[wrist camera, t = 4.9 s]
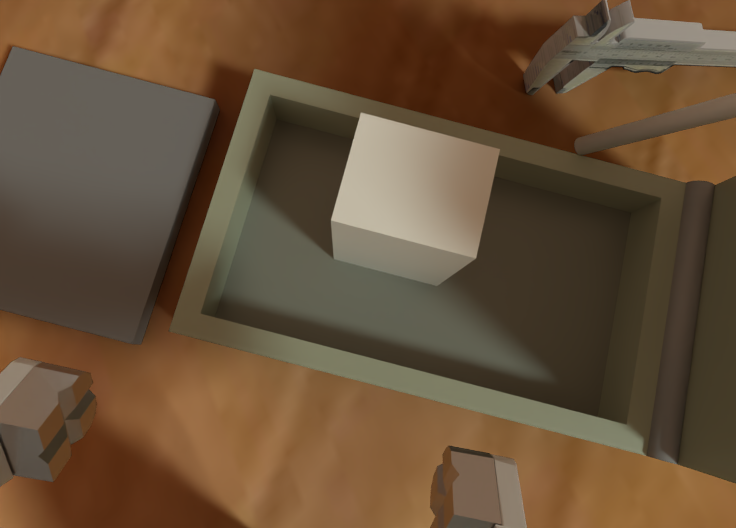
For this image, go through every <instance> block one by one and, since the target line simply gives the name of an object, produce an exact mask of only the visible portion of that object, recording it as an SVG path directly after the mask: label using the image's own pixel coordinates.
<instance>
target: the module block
mask: <svg viewBox="0 0 736 528" xmlns="http://www.w3.org/2000/svg"><path fill="white" fill-rule="evenodd" d="M499 152H500V149H497V148H494V147H490V146H486V145H482V144H478V143H475V142H471V141H467V140H463V139H459V138H456V137H452V136H448V135H444V134H441V133H437V132H433V131H429V130H425V129H422V128H418V127H414V126H410V125H406V124H403V123H399V122H395V121H391V120H388V119H384V118H380V117H376V116H372V115H369V114H365V113H361V114H360V118H359V121H358V125H357V129H356V132H355V136H354V139H353V143H352V146H351V150H350V154H349V157H348V161H347V164H346V168H345V172H344V175H343V179H342V182H341V186H340V189H339V193H338V197H337V200H336V204H335V207H334V211H333V215H332V218H331V229H332V243H333V256H334V259H335V260H339V261H343V262H347V263H351V264H355V265H358V266H362V267H366V268H370V269H374V270H377V271H381V272H385V273H389V274H393V275H397V276H400V277H404V278H408V279H412V280H416V281H419V282H423V283H427V284H431V285H435V286H438V285H439V284H441V283H442V282H443V281H445V280H446V279H448V278H449V277H450V276H452V275H453V274H455V273H456V272H458V271H459V270H460V269H462V268H463V267H465V266H466V265H467V264H469V263H470V262H472V261H473V260H475V259H476V256H477V252H478V247H479V243H480V238H481V234H482V229H483V225H484V220H485V215H486V211H487V206H488V202H489V197H490V193H491V188H492V184H493V179H494V175H495V170H496V166H497V161H498V156H499Z"/></svg>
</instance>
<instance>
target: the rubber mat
mask: <svg viewBox="0 0 736 528" xmlns="http://www.w3.org/2000/svg"><path fill="white" fill-rule="evenodd" d="M219 111H220V108H219V106H218V104H217V102H216V100H215V99H211V98H208V97H204V96H200V95H196V94H192V93H189V92H185V91H181V90H177V89H173V88H170V87H166V86H162V85H158V84H154V83H151V82H147V81H143V80H139V79H136V78H132V77H128V76H124V75H120V74H117V73H113V72H109V71H105V70H101V69H98V68H94V67H90V66H86V65H82V64H79V63H75V62H71V61H67V60H63V59H60V58H56V57H52V56H48V55H45V54H41V53H37V52H33V51H29V50H26V49H22V48H18V47H14V46H13V47H12V50H11V52H10V54H9V57H8V59H7V61H6V64H5V66H4V68H3V71H2V73H1V75H0V310H3V311H7V312H11V313H15V314H18V315H22V316H26V317H30V318H34V319H38V320H41V321H45V322H49V323H53V324H57V325H61V326H65V327H68V328H72V329H76V330H80V331H84V332H88V333H91V334H95V335H99V336H103V337H107V338H111V339H115V340H118V341H122V342H126V343H130V344H141V343H142V340H143V337H144V334H145V331H146V328H147V325H148V322H149V319H150V316H151V313H152V310H153V307H154V304H155V301H156V298H157V295H158V292H159V289H160V286H161V284H162V281H163V278H164V275H165V272H166V269H167V266H168V263H169V260H170V257H171V254H172V251H173V248H174V245H175V242H176V239H177V236H178V233H179V230H180V227H181V224H182V221H183V218H184V215H185V212H186V209H187V206H188V203H189V200H190V197H191V194H192V191H193V188H194V185H195V182H196V179H197V176H198V173H199V170H200V167H201V164H202V161H203V158H204V155H205V153H206V150H207V147H208V144H209V141H210V138H211V135H212V132H213V129H214V126H215V123H216V120H217V117H218V114H219Z"/></svg>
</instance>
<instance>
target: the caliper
mask: <svg viewBox="0 0 736 528" xmlns="http://www.w3.org/2000/svg"><path fill="white" fill-rule="evenodd" d="M673 65H689V66H716V67H736V32H734V31H718V30H703V28H702V24H701V23H692V22H679V21H667V20H654V19H642V18H634V16H633V12H632V7H631V3H630V0H629V1H626V2H624V3H622V4H620V5H618V6H616V7H614V8H612V9H611V10H609V9H608V4H607V0H602V1H601V2H600V3H599V4H598V5H597V6H596V7H595V8H593V9H592V10H591V11H590V12H589V13H588V14H587V15H586V16H573V17H572V18H571V19H569V20H568V21H567V22H566V23H565V24H564V25H563V26H562V27H561V28H560V29H559V30H558V31H556V32H555V33H554V34H553V35H552V36H551V37H550V38H549V39H548V40H547V41H546V42H545V43H544V44H543V45H542V47H541V48H540V50H539V51H538V53H537V54H536V56H535V57H534V59H533V60H532V62H531V63H530V65H529V66H528V68H527V69H526V71H525V73H524V74H523V78H524V83H525V89H526V93H527V94H529V95H533V94H534V93H535V92H537V91H538V90H539V89H540V88H541V87H542V86H544V85H545V84H546V83H547V82H548V81H550V80H551V79H552V78H553V80H554V85H555V90H556V93H566V92H568V91H570V90H571V89H573V88H575V87H577V86H579V85H580V84H582V83H584V82H586V81H588V80H589V79H591V78H593V77H595V76H597V75H598V74H600V73H602V72H604V71H605V70H607V69H609V68H611V67H623V69H625V70H628V71H631V72H634V73H639V72H651V73H654V74H659V73H662V72H664V71H665V70H667V69H669V68H670V67H672V66H673Z"/></svg>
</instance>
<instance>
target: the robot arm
mask: <svg viewBox="0 0 736 528" xmlns="http://www.w3.org/2000/svg"><path fill="white" fill-rule="evenodd" d="M92 384H93V380H92V377H91V373H89V372H84V371H80V370H75V369H71V368H67V367H62V366H58V365H53V364H49V363H45V362H41V361H36V360H31V359H26V358H21V357H19V358H18V359H16V360H14V361H12V362H11V363H10V364H9V365H8V366H7V367H6V368H5V369H4V370H3V371H2V372H1V373H0V486H2V485H3V484H5V483H6V482H8V481H9V480H11V479H12V478H13V475H15V476H21V477H27V478H32V479H38V480H44V481H50V482H54V481H55V479H56V478H57V476H58V475H59V473H60V472H61V470H62V469H63V467H64V466H65V464H66V463H67V461H68V460H69V458H70V457H71V455H72V452H71V444H73V443H74V442H76V441H78V440H80V439H81V438H83V437H84V436H85V434H86V433H87V431H88V430H89V428H90V426H91V424H92V421H93V419H94V416H95V414H96V406H97V402H96V396H95V395H94V394H93V393H92V392H91V391H90V390H89V388H90V387H91V385H92ZM430 508H431V510H432V511H433V513H434V514H435V516H436V517H435V519H434V521H433V523H432V525H431V527H430V528H527V526H526V520H525V514H524V508H523V502H522V496H521V490H520V483H519V477H518V471H517V465H516V463H515V461H514V459H512V458H507V457H502V456H497V455H491V454H490V453H485V452H480V451H474V450H469V449H464V448H459V447H453V446H448V447H446V449H445V451H444V453H443V464H441V465H439V466H437V468H436V471H435V473H434V476H433V481H432V485H431V496H430Z"/></svg>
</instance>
